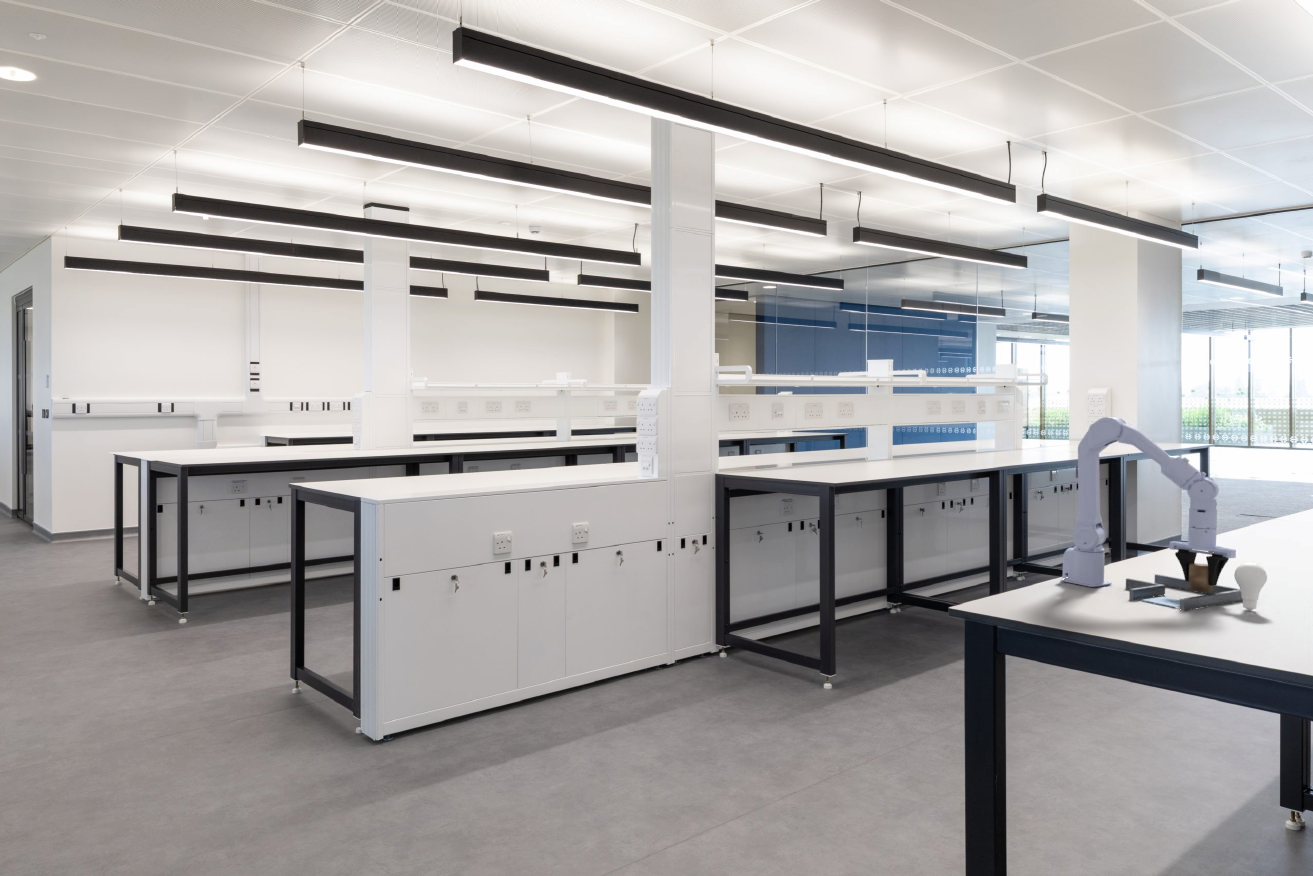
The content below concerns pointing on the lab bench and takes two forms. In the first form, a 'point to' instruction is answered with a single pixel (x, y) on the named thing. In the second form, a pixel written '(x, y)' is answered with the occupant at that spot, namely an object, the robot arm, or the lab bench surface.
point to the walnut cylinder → (1199, 577)
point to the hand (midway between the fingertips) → (1200, 583)
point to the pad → (1164, 601)
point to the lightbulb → (1250, 583)
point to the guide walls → (1158, 588)
